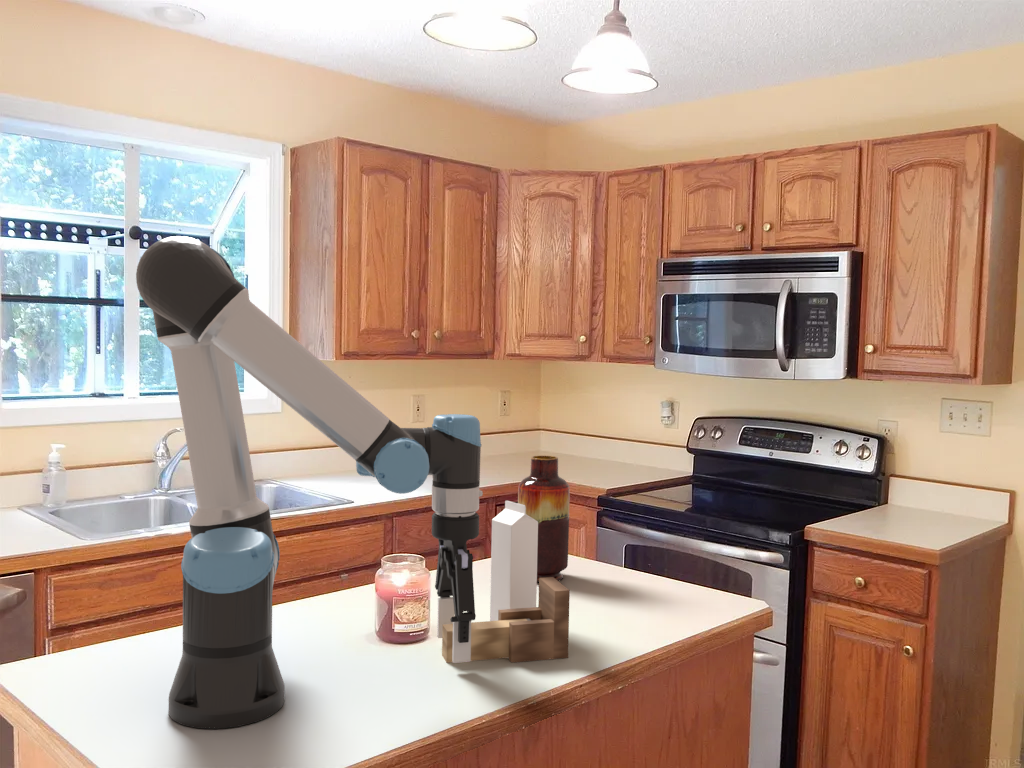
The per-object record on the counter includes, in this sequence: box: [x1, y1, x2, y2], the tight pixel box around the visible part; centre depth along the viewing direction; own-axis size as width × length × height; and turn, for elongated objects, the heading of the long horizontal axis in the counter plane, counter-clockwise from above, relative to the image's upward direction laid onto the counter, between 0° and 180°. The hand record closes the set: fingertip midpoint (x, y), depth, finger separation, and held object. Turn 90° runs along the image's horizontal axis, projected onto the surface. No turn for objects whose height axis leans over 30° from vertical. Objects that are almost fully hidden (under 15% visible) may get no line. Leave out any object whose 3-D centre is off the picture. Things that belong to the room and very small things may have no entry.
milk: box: [489, 500, 538, 621], centre depth 158 cm, size 6×6×22 cm
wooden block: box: [441, 618, 531, 664], centre depth 143 cm, size 15×4×5 cm, turn 106°
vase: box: [517, 455, 571, 582], centre depth 190 cm, size 11×11×26 cm
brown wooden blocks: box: [498, 577, 571, 663], centre depth 145 cm, size 10×8×11 cm
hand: (453, 648), depth 141 cm, fingers open, 11 cm apart
